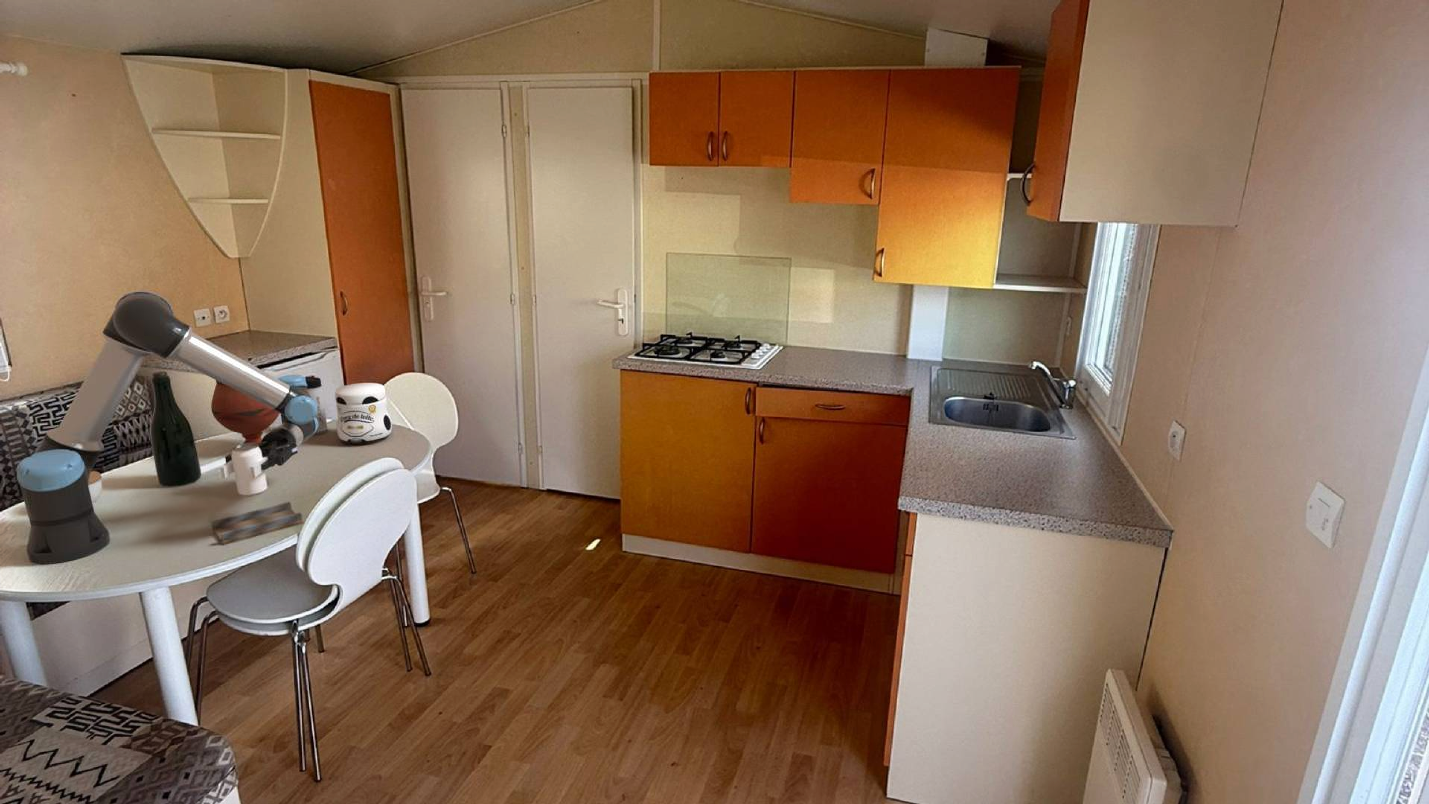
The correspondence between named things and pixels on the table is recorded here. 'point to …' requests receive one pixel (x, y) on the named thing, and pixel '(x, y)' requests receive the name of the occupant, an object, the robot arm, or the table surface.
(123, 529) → the table surface
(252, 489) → the can
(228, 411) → the goblet
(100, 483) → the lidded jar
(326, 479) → the table surface
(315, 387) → the travel mug
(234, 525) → the track
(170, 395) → the dark green bottle
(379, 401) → the milk container
